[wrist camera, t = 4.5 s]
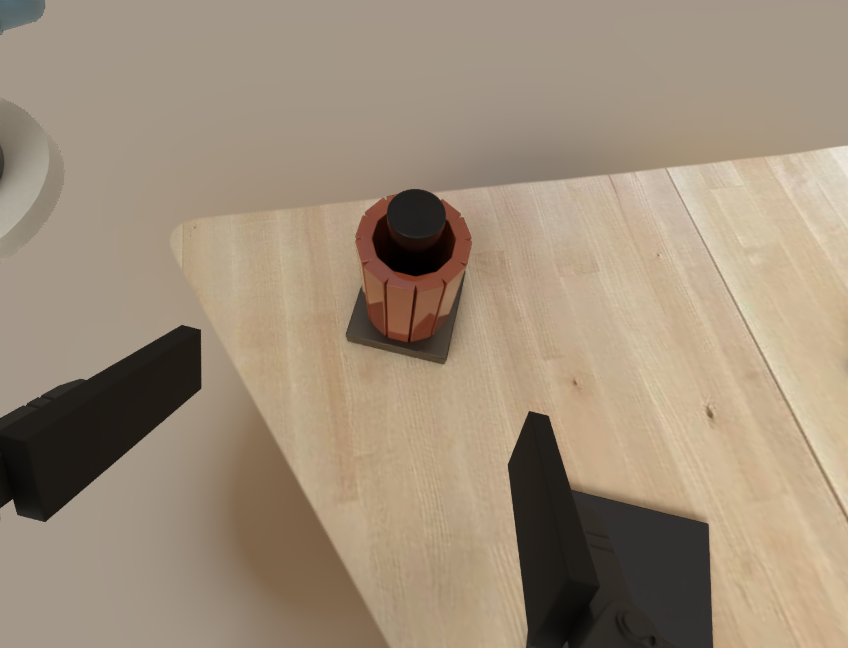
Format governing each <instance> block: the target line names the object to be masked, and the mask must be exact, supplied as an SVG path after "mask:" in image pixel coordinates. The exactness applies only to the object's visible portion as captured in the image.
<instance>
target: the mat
mask: <svg viewBox="0 0 848 648" xmlns="http://www.w3.org/2000/svg"><path fill="white" fill-rule="evenodd" d="M571 491H572V495H573V498H574V501H575V502H579V503H583V504H587V505H591V506H593V508H594V509H595V510H596V512H597V513H598V514H599V516H600V517H601V518H602V520H603V521H604V524H605V526H606V529H607V532H608V534H609V540H611V543H612V545H613V548H614V553H616V556H617V559H618V562H619V564H620V567H621V570H622V572H623V575H624V578H625V581H626V583H627V586H628V589H629V591H630V594H631V597H632V600H633V602H634V604H635V606H636V607H638V608H639V609H641V610H642V611H643V612H644V613H645V614H646V615H647V616H648V617H649V618H650V619H651V620H652V622H653V623H654V625H655V626H656V628H657V630H658V631H659V633H660V636H661V637H662V638H663V639H665V640H666V641H668V642H669V643H671V644H673V645H674V646H676V647H678V648H713V635H712V607H711V580H710V552H709V525H708V524H707V523H703V522H699V521H695V520H691V519H687V518H682V517H678V516H674V515H670V514H666V513H662V512H658V511H654V510H650V509H646V508H642V507H638V506H634V505H630V504H626V503H622V502H618V501H614V500H610V499H606V498H602V497H597V496H593V495H589V494H585V493H581V492H577V491H573V490H571ZM526 648H536V647H532V646H530V641H529V633H528V637H527V647H526ZM563 648H569V647H568V642H567V641H566V643H565V644H564V646H563Z"/></svg>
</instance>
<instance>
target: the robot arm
mask: <svg viewBox="0 0 848 648" xmlns="http://www.w3.org/2000/svg"><path fill="white" fill-rule="evenodd" d="M44 9H45V0H0V35H2V33H3V31H4V30H7V29H11V28H15V27H18V26H21V25H25V24H28V23H32V22H35V21H37V20H38V19H39V18H40V17H41V16H42V15H43V12H44ZM3 169H4V154H3V151H2V148H1V146H0V180H1V177H2V174H3ZM200 389H201V330H199V329H195V328H192V327H188V326H184V325H181V326H179V327H178V328H176V329H174V330H172V331H171V332H169V333H167V334H166V335H164V336H162V337H160V338H159V339H157V340H155V341H153V342H152V343H150V344H148V345H147V346H145V347H143V348H141V349H140V350H138V351H136V352H134V353H133V354H131V355H129V356H128V357H126V358H124V359H122V360H121V361H119V362H117V363H115V364H114V365H112V366H110V367H108V368H107V369H105V370H103V371H102V372H100V373H98V374H96V375H95V376H93V377H91V378H89V379H88V380H84V379H79V380H75V381H72V382H69V383H66V384H63V385H60V386H57V387H56V388H54V389H52V390H50V391H48V392H47V393H45V394H43V395H42V396H41V397H40V398H39V397H38V398H36V399H34V400H32V401H30V402H29V403H27V405H26V406H22V407H20V408H18V409H16V410H14V411H12V412H11V413H9V414H7V415H5V416H3V417H2V418H0V508H1V507H3V506H4V505H5V504H7V503H8V502H9V501H11V500H12V499H13V500H14V504H15V508H16V512H17V515H20V516H23V517H27V518H32V519H35V520H39V521H43V522H46V521H47V520H48V519H49V518H50V517H52V516H53V515H54V514H55V513H56V512H58V511H59V510H60V509H61V508H62V507H63V506H64V505H66V504H67V503H68V502H69V501H70V500H72V499H73V498H74V497H75V496H76V495H77V494H79V493H80V492H81V491H82V490H83V489H84V488H86V487H87V486H88V485H89V484H90V483H91V482H93V481H94V480H95V479H96V478H97V477H98V476H99V475H101V474H102V473H103V472H104V471H105V470H107V469H108V468H109V467H110V466H111V465H112V464H114V463H115V462H116V461H117V460H118V459H119V458H121V457H122V456H123V455H124V454H125V453H126V452H128V451H129V450H130V449H131V448H132V447H133V446H135V445H136V444H137V443H138V442H139V441H140V440H142V439H143V438H144V437H145V436H146V435H147V434H148V433H150V432H151V431H152V430H153V429H154V428H155V427H157V426H158V425H159V424H160V423H162V422H163V421H164V420H165V419H166V418H167V417H168V416H170V415H171V414H172V413H173V412H174V411H175V410H177V409H178V408H179V407H180V406H181V405H183V404H184V403H185V402H186V401H187V400H188V399H190V398H191V397H192V396H193V395H194V394H195V393H197V392H198V391H199V390H200ZM508 471H509V479H510V487H511V495H512V503H513V511H514V519H515V527H516V535H517V544H518V552H519V560H520V568H521V576H522V584H523V592H524V600H525V608H526V616H527V625H528V633H529V641H530V646H532V647H536V648H563V646H564V644H565V643H566V641H567V642H568V647H569V648H678V647H676V646H674V645H673V644H671V643H669V642H668V641H666V640H665V639H663V638H662V637H661V636H660V633H659V631H658V630H657V628H656V626H655V625H654V623H653V622H652V620H651V619H650V618H649V617H648V616H647V615H646V614H645V613H644V612H643V611H642V610H641V609H639V608H638V607H636V606H635V604H634V602H633V600H632V597H631V594H630V591H629V589H628V586H627V583H626V581H625V578H624V575H623V572H622V570H621V567H620V564H619V562H618V559H617V556H616V553H614V548H613V545H612V543H611V540H609V534H608V532H607V529H606V526H605V524H604V521H603V520H602V518H601V517H600V516H599V514H598V513H597V512H596V510H595V509H594V508H593V506H591V505H587V504H583V503H579V502H575V501H574V498H573V495H572V491H571V488H570V485H569V482H568V478H567V475H566V472H565V468H564V465H563V462H562V459H561V455H560V452H559V449H558V445H557V442H556V439H555V436H554V432H553V429H552V426H551V422H550V419H549V416H547V415H543V414H539V413H535V412H531V411H529V413H528V415H527V418H526V420H525V423H524V425H523V428H522V430H521V433H520V435H519V438H518V440H517V443H516V445H515V448H514V450H513V453H512V455H511V458H510V461H509V463H508Z"/></svg>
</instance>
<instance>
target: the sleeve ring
mask: <svg viewBox="0 0 848 648" xmlns="http://www.w3.org/2000/svg"><path fill="white" fill-rule="evenodd" d="M396 195H397V194H396ZM396 195H392V196H387V200H385V199H384V198H382V199H381V200H380V201H378V202H377V203H376V204H375V205H373V206H372V207H371V208H369V209H368V210H367V211H366V212H365V216H364V215H363V216H362V218H361V221H360V224H359V227H358V230H357V233H356V236H355V237H356V241H355V244H356V250H357V257H358V263H359V270H360V276H361V283H362V289H363V296H364V302H365V306H366V310H367V314H368V317H369V320H371V323H372V324H373V325H374V326H375V327H376V328H377V329H378V330H379V331H380V332H381V333H383V334H384V335H385V336H386V335H387V334H388V338H392V339H396V340H400V341H404V342H408V340H409V339H410V341H411V342H413V341H417V340H421V339H425V338H428V337H430V335H434V334H435V333H436V332H437V331H438V330H439V329H440V328H441V327H442V326H443V325H444V324H445V323H446V320H447V319H448V317H449V314H450V311H451V308H452V305H453V303H454V300H455V297H456V294H457V291H458V289H459V286H460V283H461V280H462V277H463V275H464V272H465V269H466V266H467V263H468V259H469V254H470V249H471V245H472V241H471V235H470V233H469V230H468V228H467V225H466V223H465V220H464V218H463V217H461V218H460V216H461V214H460V213H459V212H458V211H457V210H455V209H454V208H453V207H452V206H450V205H449V204H448V203H447V202H445V201H444V200H443V199H442V200H441V202H442V203H443V205H444V207H445V210H446V221H445V226H444V231H443V235H442V240H441V245H440V250H439V254H438V259H437V264H436V269H435V272H433V273H429V274H425V275H420V276H411V275H407V274H403V273H399V272H395V271H393V270H391V269H390V268H389V267H388V257H387V208H388V205H389V203H390V201H391V200H392V199H393V198H394V197H395V196H396Z"/></svg>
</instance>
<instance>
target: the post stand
mask: <svg viewBox="0 0 848 648" xmlns="http://www.w3.org/2000/svg"><path fill="white" fill-rule="evenodd" d="M445 221H446V210H445V207H444V205H443V203H442V202H441V201H440V199H439V198H438V197H436V196H435V195H434V194H432V193H430V192H428V191H424V190H420V189H411V190H406V191H403V192H401V193H399V194H397V195H396V196H395V197H394V198H393V199H392V200H391V201H390V203H389V205H388V208H387V257H388V267H389V268H390V269H391V270H393V271H395V272H399V273H403V274H407V275H411V276H420V275H425V274H429V273H433V272H435V269H436V264H437V259H438V254H439V250H440V245H441V240H442V235H443V231H444V226H445ZM464 276H465V272H464V275H463V277H462V280H461V283H460V286H459V289H458V291H457V294H456V297H455V300H454V303H453V305H452V308H451V311H450V314H449V317H448V319H447V320H446V323H445V324H444V325H443V326H442V327H441V328H440V329H439V330H438V331H437V332H436V333H435V334H434V335H430V337H428V338H425V339H421V340H417V341H413V342H411V341H410V339H409V340H408V342H404V341H400V340H396V339H392V338H388V334H387V335H386V336H385V335H384V334H383V333H381V332H380V331H379V330H378V329H377V328H376V327H375V326H374V325H373V324H372V323H371V320H369V317H368V314H367V310H366V306H365V302H364V296H363V289H362V286H361V289H360V292H359V295H358V298H357V301H356V304H355V307H354V310H353V313H352V316H351V320H350V323H349V326H348V329H347V332H346V337H347V340H348V341H350V342H354V343H358V344H362V345H366V346H370V347H374V348H378V349H383V350H387V351H391V352H395V353H399V354H403V355H407V356H411V357H415V358H419V359H423V360H428V361H432V362H436V363H440V364H444V363H445V361H446V359H447V355H448V350H449V345H450V341H451V336H452V332H453V327H454V322H455V318H456V313H457V309H458V304H459V299H460V295H461V290H462V286H463V281H464Z"/></svg>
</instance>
